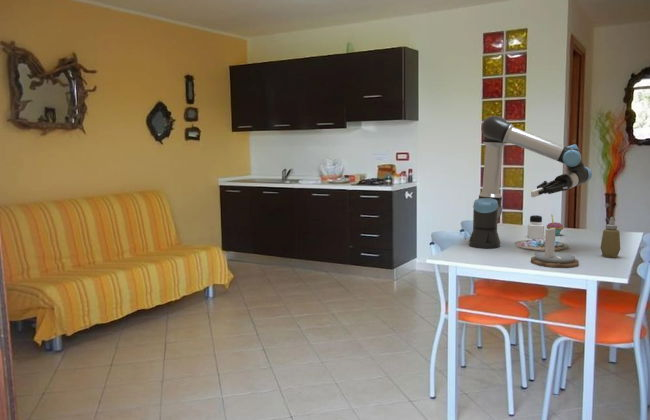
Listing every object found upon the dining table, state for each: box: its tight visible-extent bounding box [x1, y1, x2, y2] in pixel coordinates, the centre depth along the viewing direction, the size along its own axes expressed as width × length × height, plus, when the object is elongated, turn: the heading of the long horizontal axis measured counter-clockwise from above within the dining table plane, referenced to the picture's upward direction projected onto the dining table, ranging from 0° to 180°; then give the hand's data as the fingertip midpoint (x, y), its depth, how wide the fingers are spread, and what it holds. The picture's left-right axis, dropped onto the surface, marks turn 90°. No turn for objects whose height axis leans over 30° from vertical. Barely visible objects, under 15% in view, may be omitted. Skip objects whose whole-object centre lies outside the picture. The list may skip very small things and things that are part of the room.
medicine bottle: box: [527, 214, 545, 240], centre depth 302 cm, size 7×7×12 cm
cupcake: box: [546, 214, 564, 237], centre depth 310 cm, size 9×8×12 cm
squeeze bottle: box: [599, 216, 621, 258], centre depth 251 cm, size 8×8×18 cm
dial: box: [534, 228, 576, 263], centre depth 238 cm, size 16×16×14 cm
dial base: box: [530, 255, 580, 269], centre depth 239 cm, size 19×19×2 cm
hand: (532, 194), depth 256 cm, fingers closed
